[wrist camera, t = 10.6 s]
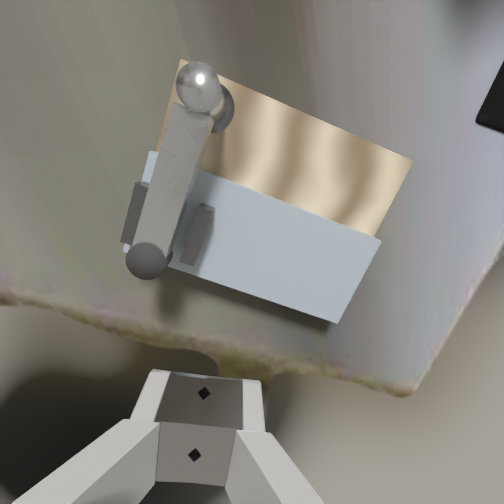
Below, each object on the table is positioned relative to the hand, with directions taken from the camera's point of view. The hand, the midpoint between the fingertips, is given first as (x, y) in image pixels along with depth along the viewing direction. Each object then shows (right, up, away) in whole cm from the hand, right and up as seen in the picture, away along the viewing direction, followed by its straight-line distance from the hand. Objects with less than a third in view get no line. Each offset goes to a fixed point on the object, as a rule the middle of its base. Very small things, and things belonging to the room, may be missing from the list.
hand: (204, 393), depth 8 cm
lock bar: (-6, +12, +22) cm, 26 cm away
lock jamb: (+3, +10, +25) cm, 27 cm away
